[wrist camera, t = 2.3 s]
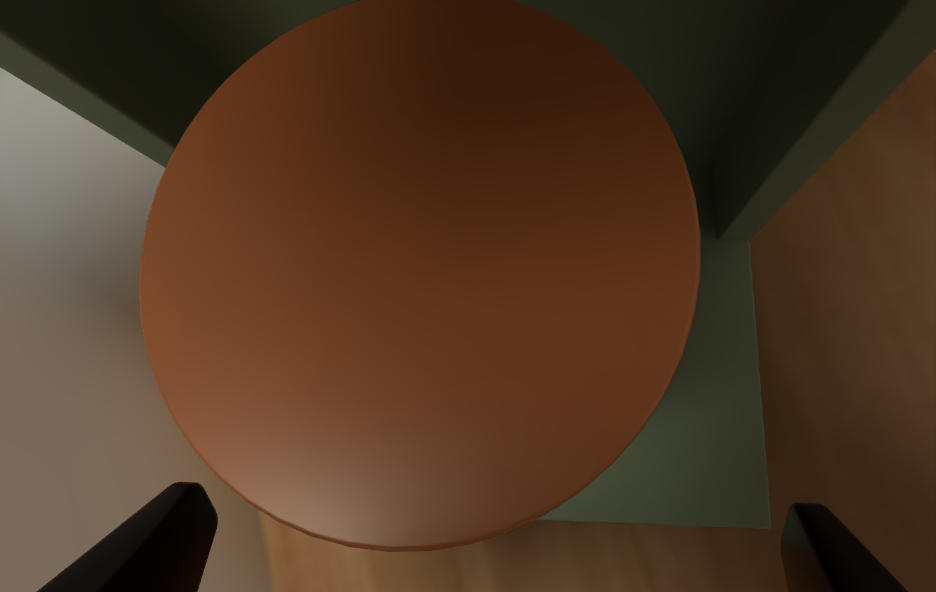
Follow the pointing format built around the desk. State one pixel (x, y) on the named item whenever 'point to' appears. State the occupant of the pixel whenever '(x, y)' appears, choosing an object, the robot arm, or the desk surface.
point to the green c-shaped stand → (678, 99)
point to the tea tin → (420, 271)
